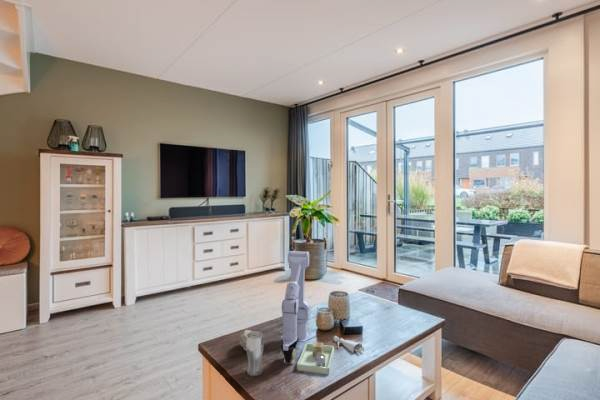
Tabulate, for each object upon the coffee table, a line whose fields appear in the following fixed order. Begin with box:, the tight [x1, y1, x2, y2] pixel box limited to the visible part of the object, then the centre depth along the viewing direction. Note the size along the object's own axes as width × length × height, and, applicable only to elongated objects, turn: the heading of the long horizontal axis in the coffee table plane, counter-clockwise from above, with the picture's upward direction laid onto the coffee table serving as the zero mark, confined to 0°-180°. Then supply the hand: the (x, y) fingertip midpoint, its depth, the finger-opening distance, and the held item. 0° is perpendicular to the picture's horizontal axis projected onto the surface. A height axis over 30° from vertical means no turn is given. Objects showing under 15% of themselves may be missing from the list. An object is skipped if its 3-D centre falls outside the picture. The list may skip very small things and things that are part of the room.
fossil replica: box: [239, 329, 254, 352], centre depth 144 cm, size 12×8×10 cm
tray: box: [296, 342, 335, 376], centre depth 133 cm, size 18×13×3 cm
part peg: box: [315, 354, 325, 367], centre depth 127 cm, size 4×4×5 cm
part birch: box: [283, 348, 297, 365], centre depth 133 cm, size 4×4×5 cm
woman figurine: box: [333, 335, 365, 354], centre depth 146 cm, size 12×4×18 cm
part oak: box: [313, 341, 324, 358], centre depth 137 cm, size 4×4×5 cm
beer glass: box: [245, 330, 264, 377], centre depth 126 cm, size 7×7×15 cm
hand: (289, 358), depth 133 cm, fingers open, 5 cm apart
